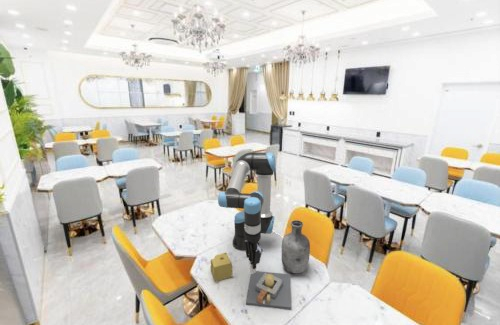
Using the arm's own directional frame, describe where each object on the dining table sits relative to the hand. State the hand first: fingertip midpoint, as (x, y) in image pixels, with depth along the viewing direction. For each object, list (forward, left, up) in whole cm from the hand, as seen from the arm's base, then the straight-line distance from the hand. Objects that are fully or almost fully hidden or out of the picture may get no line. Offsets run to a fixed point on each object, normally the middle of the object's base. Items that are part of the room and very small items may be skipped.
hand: (252, 272), depth 114 cm
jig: (-6, +8, -15) cm, 18 cm away
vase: (-24, +22, -16) cm, 36 cm away
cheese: (-14, -20, -16) cm, 29 cm away
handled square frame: (-3, +7, -13) cm, 15 cm away
